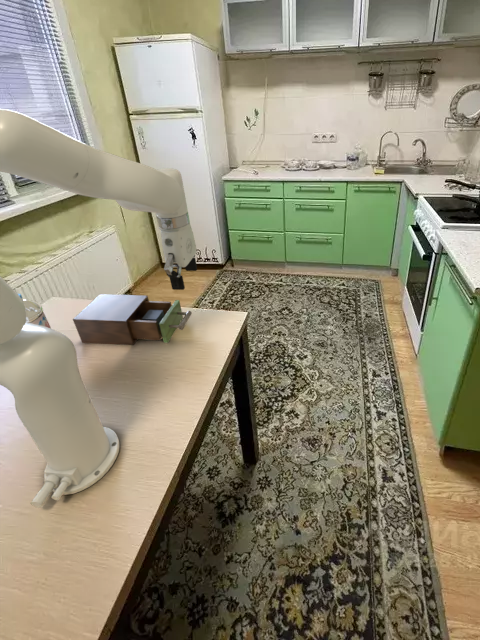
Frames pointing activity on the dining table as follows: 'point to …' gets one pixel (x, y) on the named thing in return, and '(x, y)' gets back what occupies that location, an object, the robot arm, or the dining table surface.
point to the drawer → (150, 328)
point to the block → (154, 316)
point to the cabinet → (108, 319)
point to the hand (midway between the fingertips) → (185, 279)
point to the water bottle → (35, 313)
